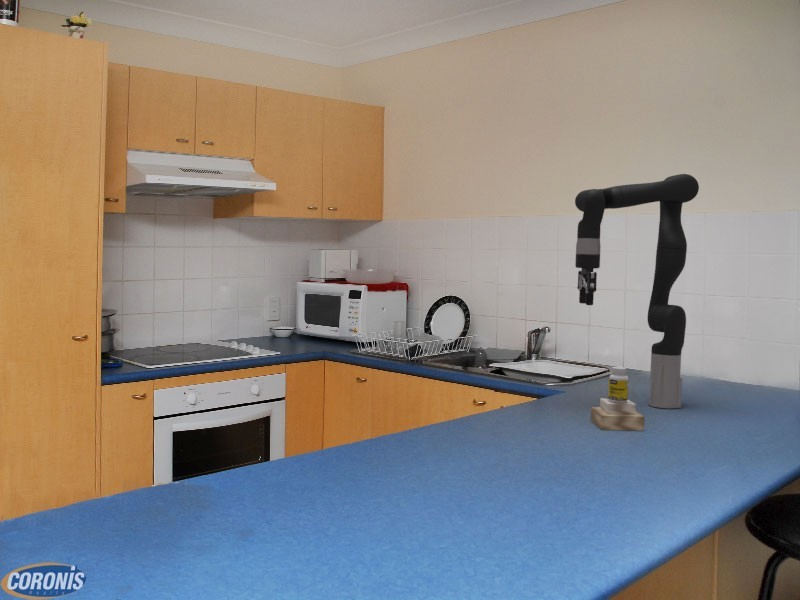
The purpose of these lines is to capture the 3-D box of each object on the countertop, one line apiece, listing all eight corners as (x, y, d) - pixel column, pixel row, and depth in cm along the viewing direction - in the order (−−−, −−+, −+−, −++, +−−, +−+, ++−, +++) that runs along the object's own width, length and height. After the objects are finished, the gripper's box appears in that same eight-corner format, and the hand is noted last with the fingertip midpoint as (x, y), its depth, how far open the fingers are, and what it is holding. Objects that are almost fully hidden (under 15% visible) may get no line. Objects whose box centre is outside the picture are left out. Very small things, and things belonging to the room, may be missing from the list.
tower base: (631, 421, 231) (632, 397, 230) (644, 430, 219) (645, 405, 218) (590, 420, 231) (591, 396, 230) (601, 429, 219) (602, 405, 218)
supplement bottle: (606, 401, 223) (607, 367, 222) (610, 398, 228) (611, 365, 227) (625, 404, 220) (627, 369, 220) (629, 400, 225) (630, 367, 225)
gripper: (605, 253, 239) (603, 306, 240) (594, 253, 253) (592, 303, 254) (581, 252, 239) (579, 305, 240) (571, 252, 253) (569, 302, 254)
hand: (586, 304), depth 247 cm, fingers open, 8 cm apart
